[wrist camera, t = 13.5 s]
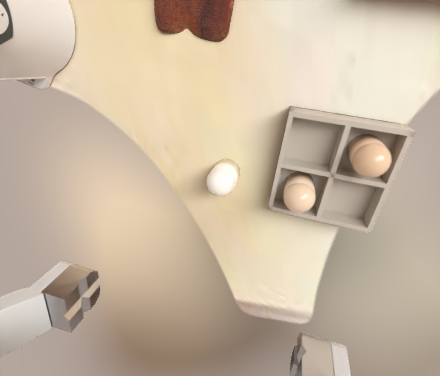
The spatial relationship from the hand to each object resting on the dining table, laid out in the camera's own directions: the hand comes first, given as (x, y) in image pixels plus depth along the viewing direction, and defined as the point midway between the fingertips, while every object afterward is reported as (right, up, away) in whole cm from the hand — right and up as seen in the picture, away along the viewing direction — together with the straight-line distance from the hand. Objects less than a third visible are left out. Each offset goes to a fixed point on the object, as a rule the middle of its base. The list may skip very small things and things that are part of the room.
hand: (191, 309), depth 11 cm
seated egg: (+12, +5, +29) cm, 32 cm away
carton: (+16, +8, +27) cm, 33 cm away
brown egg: (+19, +10, +25) cm, 33 cm away
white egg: (+2, +7, +32) cm, 33 cm away
